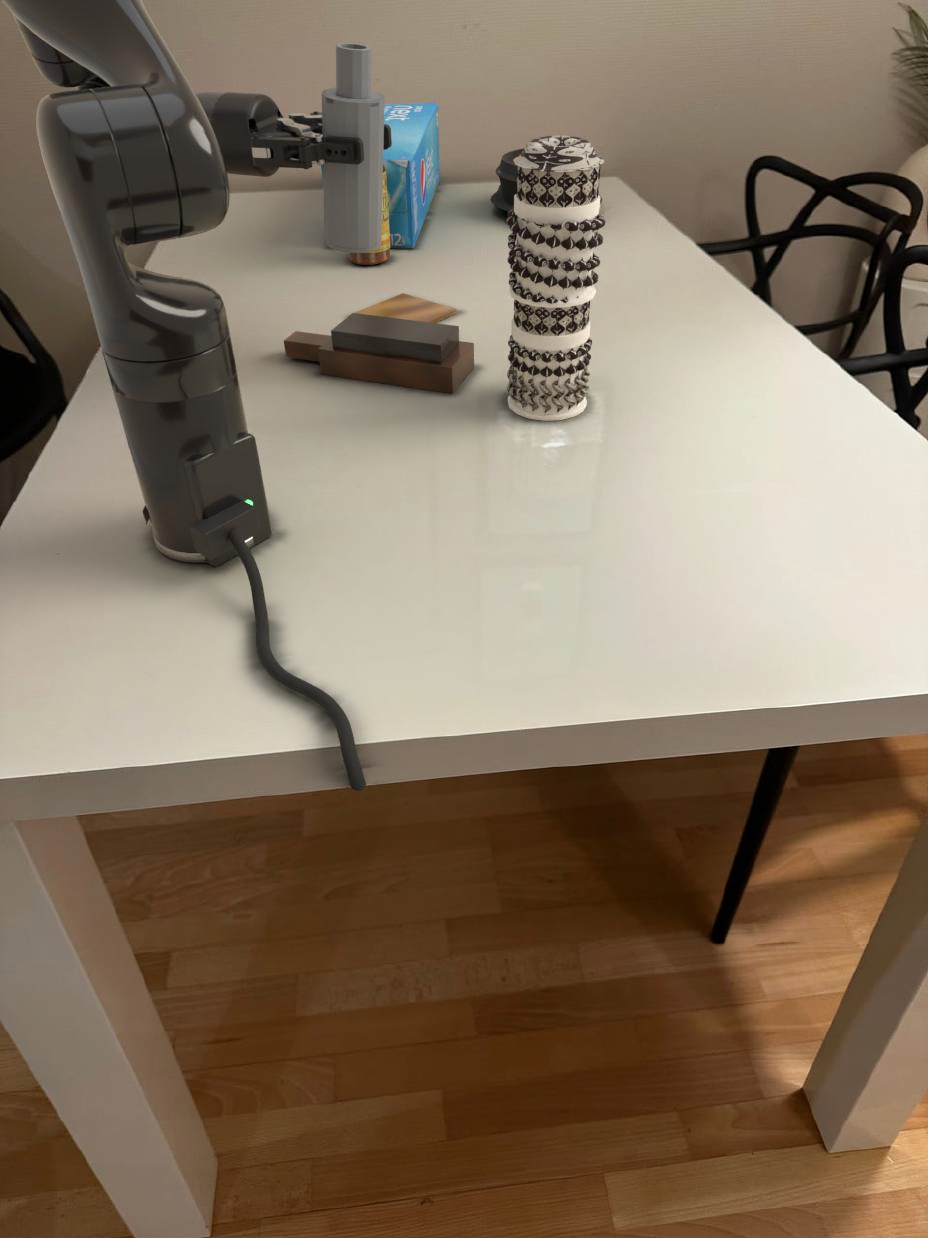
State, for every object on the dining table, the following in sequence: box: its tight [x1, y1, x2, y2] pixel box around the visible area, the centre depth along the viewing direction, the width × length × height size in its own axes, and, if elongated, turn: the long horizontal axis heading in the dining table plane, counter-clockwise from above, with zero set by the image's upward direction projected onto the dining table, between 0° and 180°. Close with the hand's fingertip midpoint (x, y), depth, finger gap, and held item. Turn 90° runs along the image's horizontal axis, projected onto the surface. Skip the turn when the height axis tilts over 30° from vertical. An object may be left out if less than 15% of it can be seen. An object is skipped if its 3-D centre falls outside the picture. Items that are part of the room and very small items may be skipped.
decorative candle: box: [505, 135, 606, 422], centre depth 87 cm, size 9×9×25 cm
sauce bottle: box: [348, 164, 391, 266], centre depth 126 cm, size 6×6×20 cm
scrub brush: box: [283, 312, 475, 394], centre depth 101 cm, size 22×7×5 cm, turn 70°
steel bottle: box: [321, 42, 386, 254], centre depth 90 cm, size 6×6×18 cm
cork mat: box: [355, 292, 457, 323], centre depth 115 cm, size 10×10×1 cm
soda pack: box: [320, 102, 441, 249], centre depth 147 cm, size 40×14×13 cm, turn 175°
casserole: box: [490, 147, 603, 213], centre depth 148 cm, size 25×19×8 cm
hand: (376, 143), depth 88 cm, fingers closed on steel bottle, 6 cm apart
